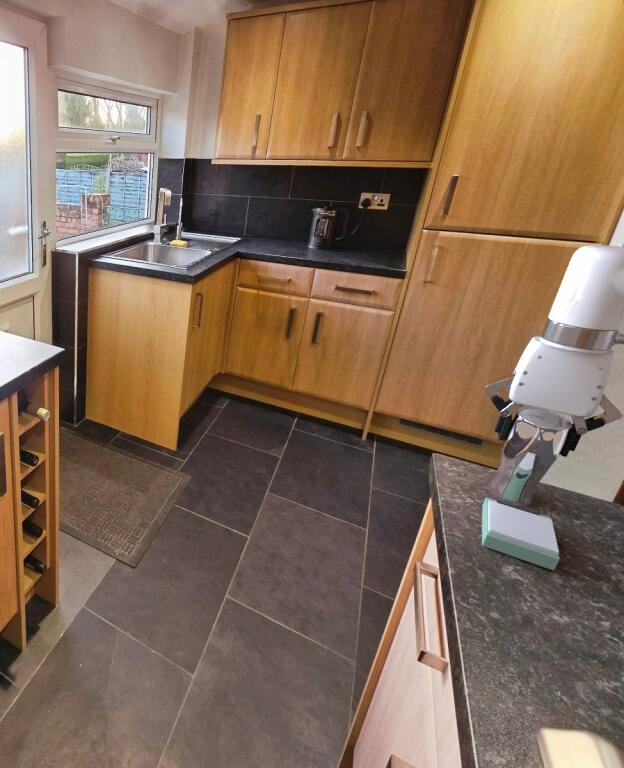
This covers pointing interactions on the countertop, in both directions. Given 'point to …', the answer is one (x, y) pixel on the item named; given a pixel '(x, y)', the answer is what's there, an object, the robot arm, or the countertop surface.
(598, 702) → the countertop surface
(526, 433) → the beer glass
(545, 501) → the countertop surface
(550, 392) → the robot arm
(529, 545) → the scale
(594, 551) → the countertop surface
